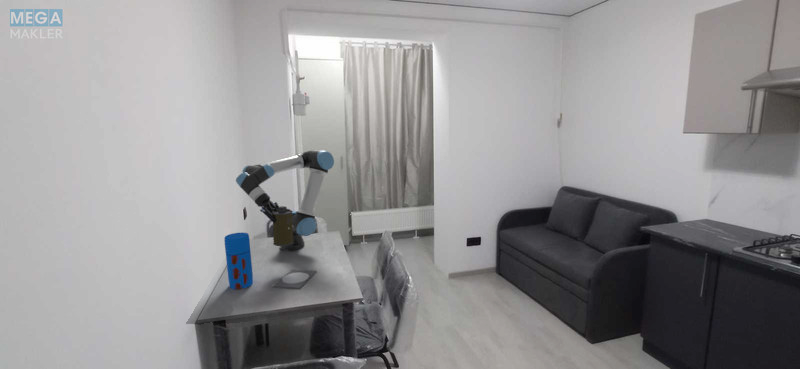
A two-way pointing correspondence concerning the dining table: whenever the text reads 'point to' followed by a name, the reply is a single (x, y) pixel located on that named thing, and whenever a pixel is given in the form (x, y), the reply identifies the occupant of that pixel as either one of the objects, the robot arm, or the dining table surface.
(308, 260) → the dining table surface
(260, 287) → the dining table surface
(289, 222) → the canister
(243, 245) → the thermos
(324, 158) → the robot arm
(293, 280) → the circle mat
